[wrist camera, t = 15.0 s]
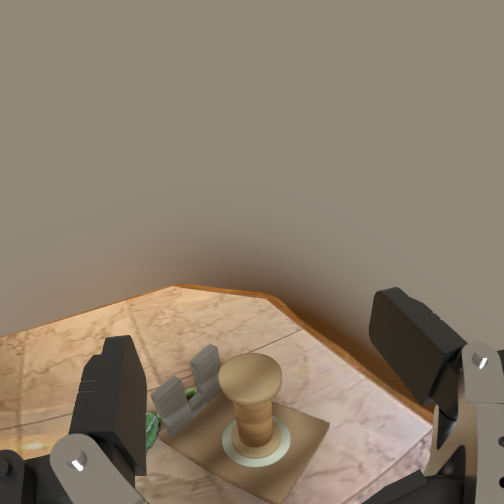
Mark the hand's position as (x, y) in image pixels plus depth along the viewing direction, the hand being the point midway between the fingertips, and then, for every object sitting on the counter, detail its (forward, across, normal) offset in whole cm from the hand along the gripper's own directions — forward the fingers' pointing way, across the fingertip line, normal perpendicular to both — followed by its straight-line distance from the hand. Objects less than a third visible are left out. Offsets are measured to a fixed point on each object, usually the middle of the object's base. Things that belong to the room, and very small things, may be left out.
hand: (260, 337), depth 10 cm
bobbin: (+14, -1, +28) cm, 31 cm away
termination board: (+15, 0, +30) cm, 34 cm away
